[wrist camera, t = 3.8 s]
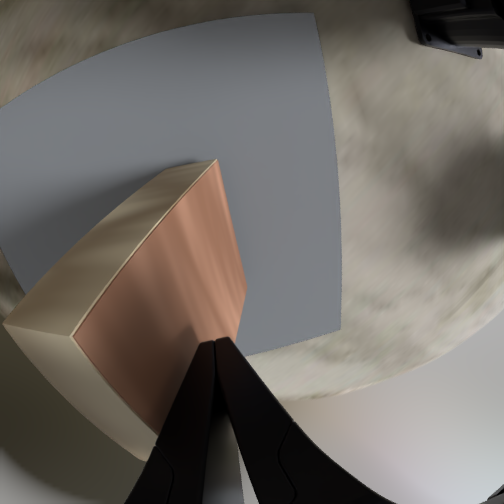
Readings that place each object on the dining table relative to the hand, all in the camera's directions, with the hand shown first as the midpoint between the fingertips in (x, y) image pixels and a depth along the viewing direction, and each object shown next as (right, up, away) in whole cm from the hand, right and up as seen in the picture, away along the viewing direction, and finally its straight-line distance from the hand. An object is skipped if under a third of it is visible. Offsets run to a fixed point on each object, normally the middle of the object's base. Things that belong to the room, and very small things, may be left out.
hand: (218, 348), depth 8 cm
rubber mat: (-4, +3, +7) cm, 9 cm away
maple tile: (-1, +4, +6) cm, 7 cm away
